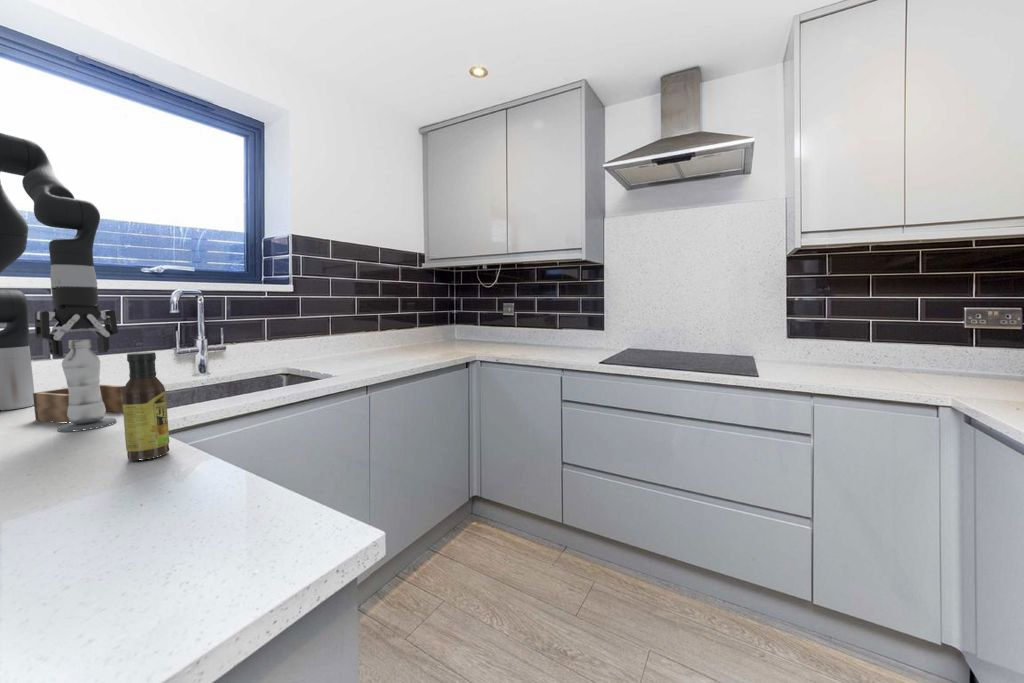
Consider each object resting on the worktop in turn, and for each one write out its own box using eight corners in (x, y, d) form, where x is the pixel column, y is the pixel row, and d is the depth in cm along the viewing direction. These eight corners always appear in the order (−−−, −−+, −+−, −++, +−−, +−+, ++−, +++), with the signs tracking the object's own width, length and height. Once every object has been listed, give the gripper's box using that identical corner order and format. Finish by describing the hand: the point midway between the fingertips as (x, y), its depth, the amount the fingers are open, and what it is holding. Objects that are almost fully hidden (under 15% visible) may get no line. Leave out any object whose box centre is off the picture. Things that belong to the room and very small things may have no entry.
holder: (35, 420, 107) (32, 393, 106) (95, 408, 119) (93, 384, 118) (68, 424, 104) (66, 395, 103) (126, 411, 116) (124, 386, 115)
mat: (46, 430, 99) (46, 427, 99) (98, 418, 108) (98, 416, 108) (76, 433, 96) (75, 430, 96) (126, 421, 106) (126, 419, 105)
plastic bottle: (114, 419, 105) (107, 338, 103) (84, 427, 99) (76, 341, 97) (91, 418, 106) (83, 338, 104) (59, 426, 99) (50, 341, 97)
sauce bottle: (168, 458, 80) (160, 353, 78) (124, 465, 77) (114, 355, 75) (172, 448, 85) (164, 350, 84) (130, 454, 82) (122, 352, 80)
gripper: (100, 287, 107) (105, 351, 108) (22, 284, 93) (30, 357, 95) (121, 286, 105) (127, 351, 106) (45, 284, 91) (52, 359, 93)
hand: (81, 354), depth 101 cm, fingers open, 8 cm apart
